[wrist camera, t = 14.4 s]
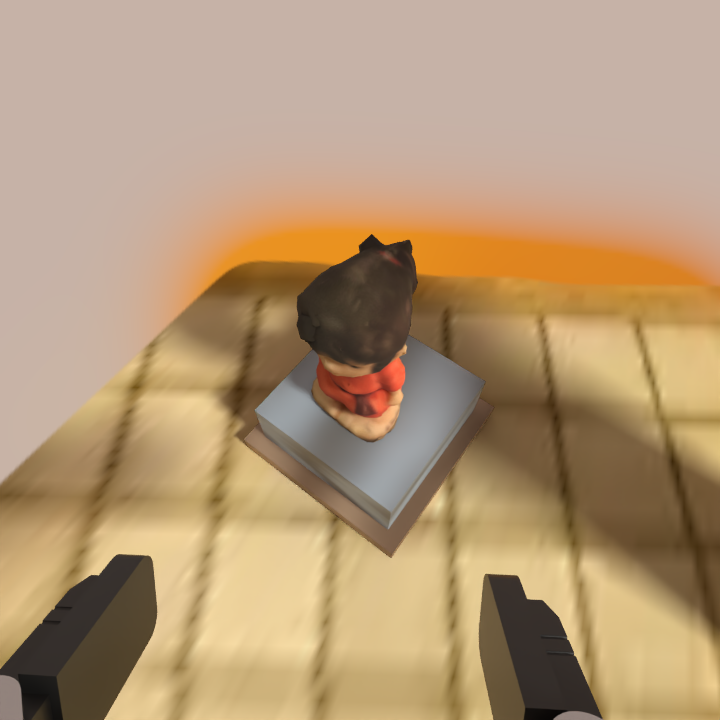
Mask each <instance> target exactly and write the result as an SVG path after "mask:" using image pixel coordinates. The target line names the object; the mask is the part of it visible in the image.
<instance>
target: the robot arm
mask: <svg viewBox="0 0 720 720" xmlns="http://www.w3.org/2000/svg"><path fill="white" fill-rule="evenodd" d="M156 619H157V602H156V591H155V580H154V569H153V561H152V559H151V557H150V556H144V555H124V554H118V555H116V556H115V557H114V558H113V559H112V560H111V561H110V562H109V564H108V565H107V566H106V567H105V569H104V570H103V571H102V572H101V573H100V575H99V576H98V575H91V576H89V577H88V578H86V579H85V580H83V581H82V582H80V583H79V584H77V585H76V586H74V587H73V588H71V589H70V590H69V591H68V592H67V593H66V594H65V596H64V597H63V598H62V599H61V600H60V601H59V602H58V604H57V605H56V606H55V609H54V610H51V612H50V613H49V614H48V615H47V616H46V617H45V618H44V620H43V623H42V624H39V625H38V627H37V628H36V629H35V630H34V631H33V632H32V633H31V635H30V636H29V637H28V638H27V639H26V640H25V641H24V643H23V644H22V645H21V646H20V647H19V648H18V649H17V651H16V652H15V653H14V654H13V655H12V656H11V658H10V659H9V660H8V661H7V662H6V663H5V664H4V666H3V667H2V668H1V669H0V720H104V719H105V717H106V715H107V714H108V712H109V710H110V708H111V707H112V705H113V703H114V701H115V700H116V698H117V696H118V694H119V693H120V691H121V689H122V687H123V686H124V684H125V682H126V680H127V679H128V677H129V675H130V674H131V672H132V670H133V668H134V667H135V665H136V663H137V661H138V660H139V658H140V656H141V654H142V653H143V651H144V649H145V647H146V646H147V644H148V642H149V640H150V638H151V636H152V634H153V631H154V628H155V624H156ZM479 649H480V657H481V663H482V667H483V672H484V677H485V681H486V686H487V691H488V696H489V700H490V705H491V710H492V715H493V719H494V720H603V718H602V716H601V714H600V712H599V709H598V707H597V705H596V702H595V700H594V698H593V696H592V693H591V691H590V689H589V686H588V684H587V682H586V679H585V677H584V675H583V672H582V670H581V668H580V665H579V663H578V661H577V658H576V656H574V651H573V649H572V647H571V644H570V642H569V640H567V635H566V633H565V631H564V628H563V626H562V624H561V621H560V619H559V617H558V616H557V615H556V614H555V613H554V612H553V611H552V610H551V609H550V608H549V607H548V606H547V604H546V603H545V602H544V601H543V600H529V599H527V598H526V595H525V592H524V590H523V587H522V584H521V582H520V579H519V577H518V576H515V575H496V574H485V576H484V581H483V591H482V602H481V613H480V623H479Z"/></svg>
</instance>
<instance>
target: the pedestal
mask: <svg viewBox="0 0 720 720" xmlns="http://www.w3.org/2000/svg"><path fill="white" fill-rule="evenodd" d="M406 346H407V349H406V354H404V355H402V356H400V357H399V358H400V360H401V362H402V364H403V365H404V367H405V381H404V384H403V385H402V388H401V392H402V393H403V395H404V396H403V399H402V401H401V404H400V411H399V415H398V419H397V422H396V424H395V427H394V429H392V430H391V432H389V433H387V434H386V435H385V436H384V438H383V439H381V440H379V441H376V442H374V443H372V442H366V441H364V440H362V439H360V438H358V437H356V436H355V435H354V434H352V433H351V432H350V431H348V430H347V429H346V428H344V427H343V426H341V425H340V424H339V423H338V422H337V421H335V420H334V419H333V418H332V417H331V416H330V415H329V414H328V413H327V412H326V411H324V410H323V409H322V408H321V407H320V406H319V405H318V404H317V402H316V401H315V400H314V398H313V395H312V392H311V389H312V385H313V381H314V380H315V379H316V377H317V374H316V369H317V366H318V363H319V357H318V355H317V353H316V352H315V351H314V350H313V349H312V350H311V351H310V352H309V353H308V354H307V355H306V357H305V358H304V359H303V360H302V361H301V362H300V363H299V364H298V365H297V366H296V367H295V368H294V369H293V370H292V371H291V372H290V373H289V375H288V376H287V377H286V378H285V379H284V380H283V381H282V382H281V383H280V384H279V385H278V386H277V387H276V388H275V389H274V390H273V391H272V392H271V394H270V395H269V396H268V397H267V398H266V399H265V400H264V401H263V402H262V403H261V404H260V405H259V406H258V407H257V408H256V409H255V413H256V415H257V418H258V420H259V423H258V424H257V425H256V427H255V428H254V429H253V430H252V431H251V432H250V433H249V434H248V435H247V436H246V437H245V438H244V441H245V443H246V445H247V446H248V447H249V448H251V449H252V450H253V451H254V452H256V453H257V454H258V455H259V456H261V457H262V458H263V459H265V460H266V461H267V462H268V463H270V464H271V465H272V466H274V467H275V468H276V469H277V470H279V471H280V472H281V473H283V474H284V475H285V476H286V477H288V478H289V479H290V480H292V481H293V482H294V483H295V484H297V485H298V486H299V487H301V488H302V489H303V490H304V491H306V492H307V493H308V494H310V495H311V496H312V497H313V498H315V499H316V500H317V501H319V502H320V503H321V504H322V505H324V506H325V507H326V508H327V509H329V510H330V511H331V512H333V513H334V514H335V515H336V516H338V517H339V518H340V519H342V520H343V521H344V522H345V523H347V524H348V525H349V526H351V527H352V528H353V529H354V530H356V531H357V532H358V533H360V534H361V535H362V536H363V537H365V538H366V539H367V540H369V541H370V542H371V543H372V544H374V545H375V546H376V547H378V548H379V549H380V550H381V551H383V552H384V553H385V554H386V555H388V556H389V557H390V558H391V557H392V556H393V555H394V553H395V552H396V550H397V549H398V547H399V546H400V544H401V543H402V542H403V540H404V539H405V537H406V536H407V534H408V533H409V531H410V530H411V529H412V527H413V526H414V524H415V523H416V521H417V520H418V519H419V517H420V516H421V514H422V513H423V511H424V510H425V508H426V507H427V506H428V504H429V503H430V501H431V500H432V498H433V497H434V495H435V494H436V493H437V491H438V490H439V488H440V487H441V485H442V484H443V482H444V481H445V480H446V478H447V477H448V475H449V474H450V472H451V471H452V469H453V468H454V467H455V465H456V464H457V462H458V461H459V459H460V458H461V456H462V455H463V454H464V452H465V451H466V449H467V448H468V446H469V445H470V443H471V442H472V441H473V439H474V438H475V436H476V435H477V433H478V432H479V431H480V429H481V428H482V426H483V425H484V423H485V422H486V420H487V419H488V418H489V416H490V415H491V413H492V411H493V409H494V407H493V406H492V405H490V404H489V403H487V402H485V401H484V400H482V399H481V398H479V396H480V394H481V392H482V389H483V387H484V384H485V382H486V381H484V380H482V379H481V378H479V377H477V376H476V375H474V374H472V373H471V372H469V371H468V370H466V369H464V368H463V367H461V366H459V365H458V364H456V363H454V362H453V361H451V360H449V359H448V358H446V357H445V356H443V355H441V354H440V353H438V352H436V351H435V350H433V349H431V348H430V347H428V346H426V345H425V344H423V343H421V342H420V341H418V340H417V339H415V338H413V337H412V336H410V335H408V338H407V340H406Z"/></svg>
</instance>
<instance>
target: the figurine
mask: <svg viewBox="0 0 720 720" xmlns="http://www.w3.org/2000/svg"><path fill="white" fill-rule="evenodd" d="M359 251H360V252H359V254H356V255H355V256H353V257H351V258H349V259H347V260H346V261H344V262H342V263H340V264H337V265H334V266H332V267H330V268H329V269H328V270H326V271H324V272H323V273H321V274H320V275H319V276H318V277H317V278H316V279H315V280H314V281H313V282H312V283H311V284H310V285H309V286H308V287H307V288H306V289H305V290H304V292H303V293H301V294H300V295H299V296H298V297H297V310H298V316H299V317H298V322H297V328H298V331H299V334H300V338H301V339H303V340H305V341H306V342H308V343H309V345H310V346H311V348H312V349H313V350H314V351H315V352H316V353H317V355H318V357H319V363H318V366H317V369H316V374H317V377H316V379H315V380H314V381H313V385H312V389H311V392H312V395H313V398H314V400H315V401H316V402H317V404H318V405H319V406H320V407H321V408H322V409H323V410H324V411H326V412H327V413H328V414H329V415H330V416H331V417H332V418H333V419H334V420H335V421H337V422H338V423H339V424H340V425H341V426H343V427H344V428H346V429H347V430H348V431H350V432H351V433H352V434H354V435H355V436H356V437H358V438H360V439H362V440H364V441H366V442H372V443H374V442H376V441H379V440H381V439H383V438H384V436H385V435H386V434H387V433H389V432H391V430H392V429H394V427H395V424H396V422H397V419H398V415H399V411H400V404H401V401H402V399H403V396H404V395H403V393H402V392H401V388H402V385H403V384H404V381H405V367H404V365H403V364H402V362H401V360H400V358H399V357H400V356H402V355H404V354H406V349H407V346H406V340H407V338H408V334H409V330H410V326H411V314H412V294H413V293H414V291H415V290H416V287H417V284H418V281H417V278H416V266H415V261H414V258H413V256H412V245H411V242H410V240H406V241H403V242H397V243H394V244H390V245H384V244H382V243H381V242H380V241H379V240H378V239H377V238H375V237H374V236H373V235H372V234H371V235H370V236H369V237H368V238H367V239H366V240H365V241H364V242H363V243H362V244H360V245H359Z"/></svg>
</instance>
